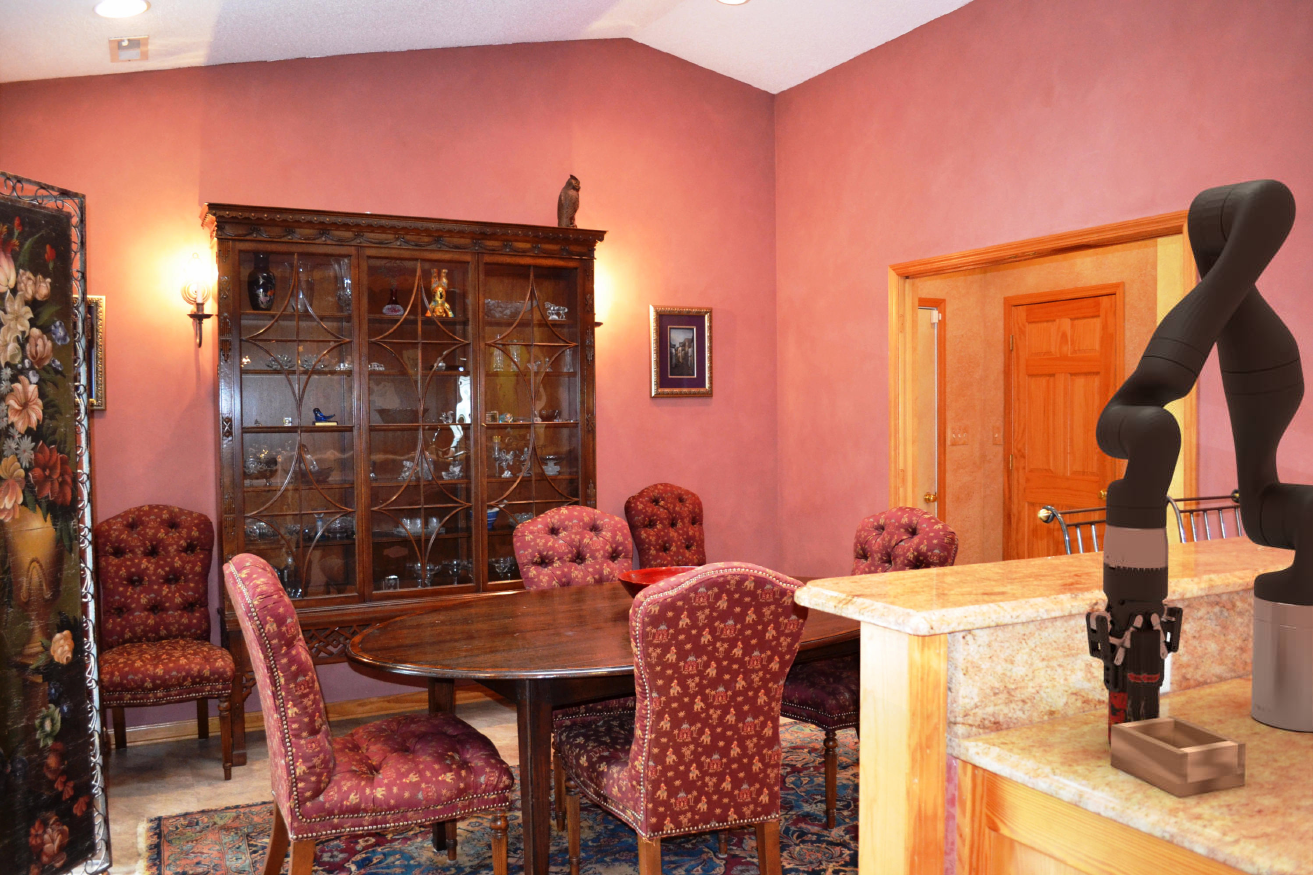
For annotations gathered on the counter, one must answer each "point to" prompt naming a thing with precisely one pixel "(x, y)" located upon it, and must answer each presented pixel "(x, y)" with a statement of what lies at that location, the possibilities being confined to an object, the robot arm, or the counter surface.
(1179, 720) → the wooden box
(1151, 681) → the deodorant
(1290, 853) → the counter surface
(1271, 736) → the counter surface
